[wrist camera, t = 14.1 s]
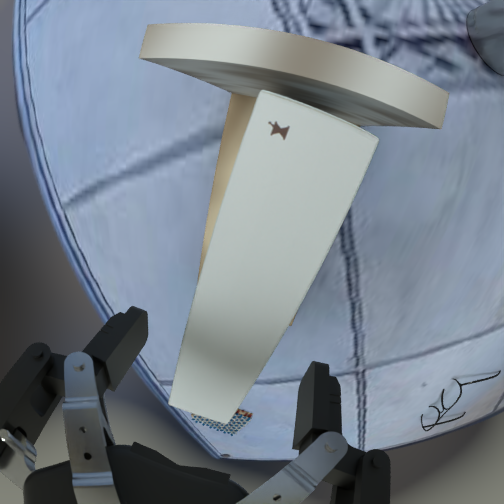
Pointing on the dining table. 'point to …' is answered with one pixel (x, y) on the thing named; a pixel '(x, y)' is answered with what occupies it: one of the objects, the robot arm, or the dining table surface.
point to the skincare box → (266, 247)
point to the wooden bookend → (289, 83)
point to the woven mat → (231, 427)
